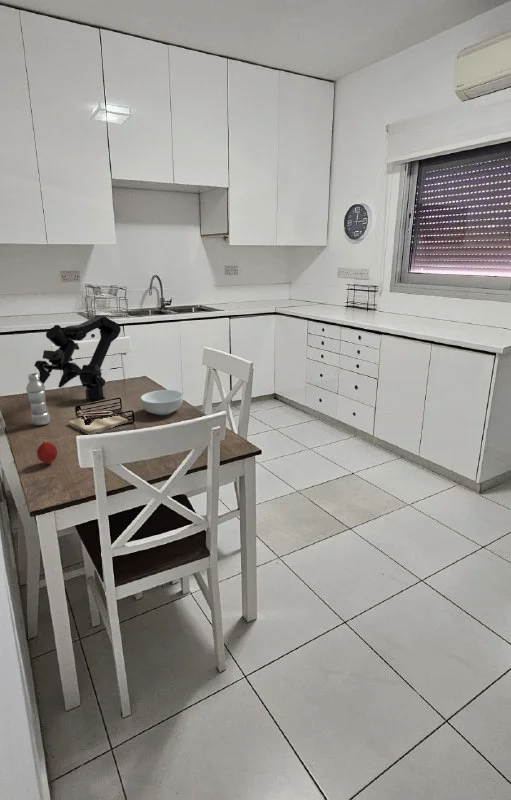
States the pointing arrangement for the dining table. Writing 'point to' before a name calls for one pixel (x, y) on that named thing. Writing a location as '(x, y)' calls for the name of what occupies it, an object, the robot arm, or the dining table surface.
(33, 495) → the dining table surface
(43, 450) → the onion
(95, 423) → the birch board
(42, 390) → the plastic bottle
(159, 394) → the cereal bowl
